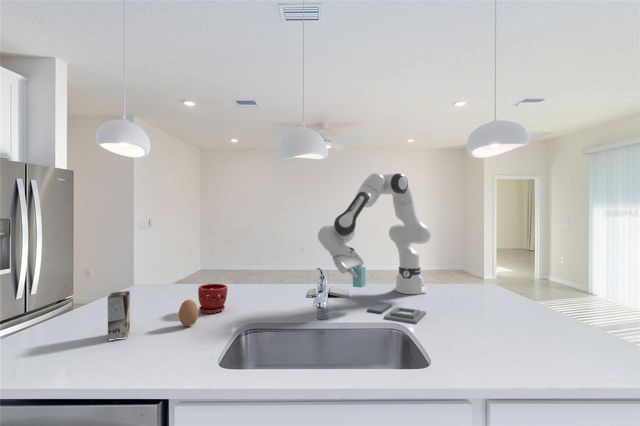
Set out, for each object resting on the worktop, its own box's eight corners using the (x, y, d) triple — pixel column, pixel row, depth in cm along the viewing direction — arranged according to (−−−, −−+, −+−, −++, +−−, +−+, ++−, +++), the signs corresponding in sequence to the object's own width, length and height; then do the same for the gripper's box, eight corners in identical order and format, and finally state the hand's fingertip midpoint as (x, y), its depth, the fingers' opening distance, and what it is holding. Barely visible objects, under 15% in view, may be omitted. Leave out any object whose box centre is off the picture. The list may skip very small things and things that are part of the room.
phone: (367, 311, 160) (367, 309, 160) (378, 304, 172) (378, 302, 172) (381, 313, 157) (381, 311, 157) (391, 306, 169) (391, 304, 169)
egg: (174, 328, 139) (174, 301, 139) (187, 322, 147) (187, 296, 147) (189, 330, 137) (189, 302, 137) (202, 324, 144) (202, 298, 144)
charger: (356, 284, 167) (356, 265, 167) (365, 285, 164) (365, 265, 164) (352, 286, 163) (352, 266, 163) (361, 287, 161) (361, 267, 160)
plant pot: (205, 317, 154) (205, 290, 154) (194, 310, 164) (193, 285, 164) (232, 311, 162) (232, 286, 162) (219, 305, 172) (219, 281, 172)
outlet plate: (395, 309, 164) (395, 304, 164) (425, 313, 156) (425, 309, 156) (384, 318, 150) (383, 313, 150) (416, 323, 143) (416, 318, 143)
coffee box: (127, 339, 127) (127, 295, 127) (107, 341, 125) (106, 297, 125) (130, 331, 136) (129, 290, 136) (111, 333, 133) (111, 292, 133)
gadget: (348, 292, 202) (348, 286, 202) (349, 298, 187) (349, 291, 187) (309, 292, 203) (309, 285, 203) (307, 298, 188) (307, 291, 188)
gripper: (335, 252, 158) (355, 275, 153) (354, 247, 176) (372, 268, 171) (327, 261, 160) (346, 284, 156) (346, 255, 178) (364, 276, 173)
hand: (360, 275), depth 163 cm, fingers closed on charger, 4 cm apart
